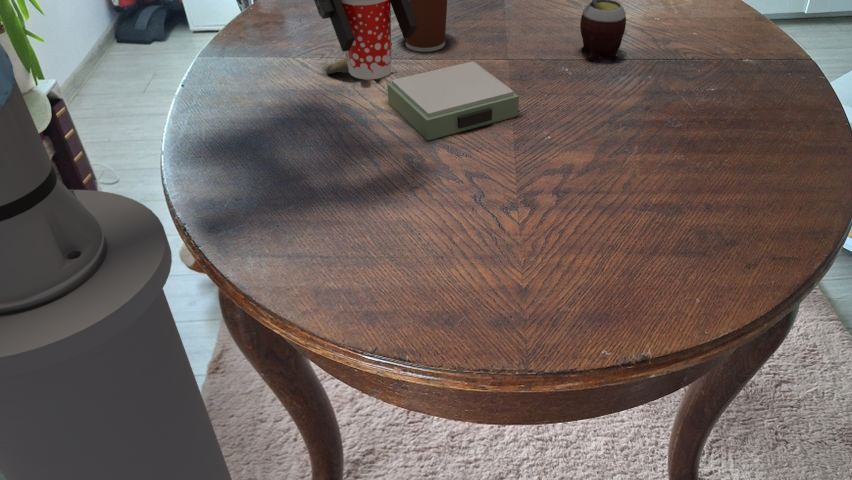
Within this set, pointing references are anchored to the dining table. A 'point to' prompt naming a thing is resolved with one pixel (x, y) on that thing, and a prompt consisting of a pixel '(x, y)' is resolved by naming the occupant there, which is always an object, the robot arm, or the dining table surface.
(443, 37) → the coffee cup
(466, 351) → the dining table surface
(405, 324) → the dining table surface
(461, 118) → the scale
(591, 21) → the mate gourd
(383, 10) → the beverage cup
